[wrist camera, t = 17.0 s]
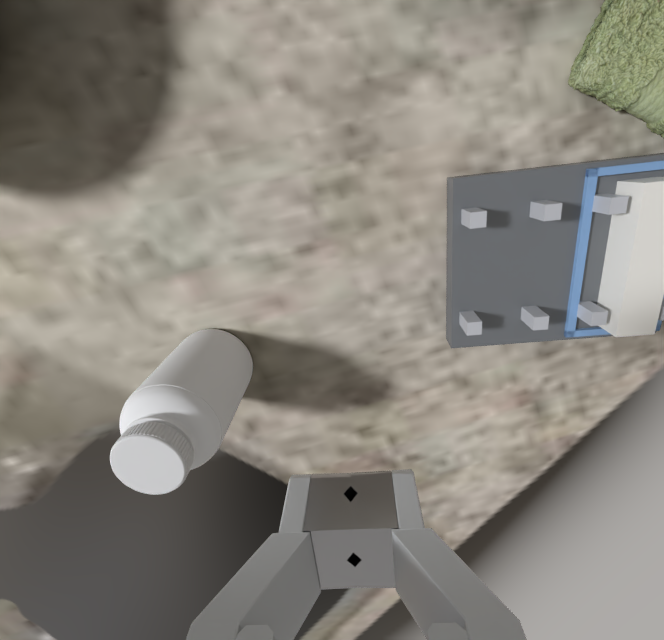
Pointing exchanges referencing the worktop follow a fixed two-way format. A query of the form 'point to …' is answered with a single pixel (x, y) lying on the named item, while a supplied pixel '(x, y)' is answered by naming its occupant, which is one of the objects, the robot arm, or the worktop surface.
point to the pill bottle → (181, 412)
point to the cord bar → (635, 260)
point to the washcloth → (625, 60)
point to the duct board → (533, 250)
